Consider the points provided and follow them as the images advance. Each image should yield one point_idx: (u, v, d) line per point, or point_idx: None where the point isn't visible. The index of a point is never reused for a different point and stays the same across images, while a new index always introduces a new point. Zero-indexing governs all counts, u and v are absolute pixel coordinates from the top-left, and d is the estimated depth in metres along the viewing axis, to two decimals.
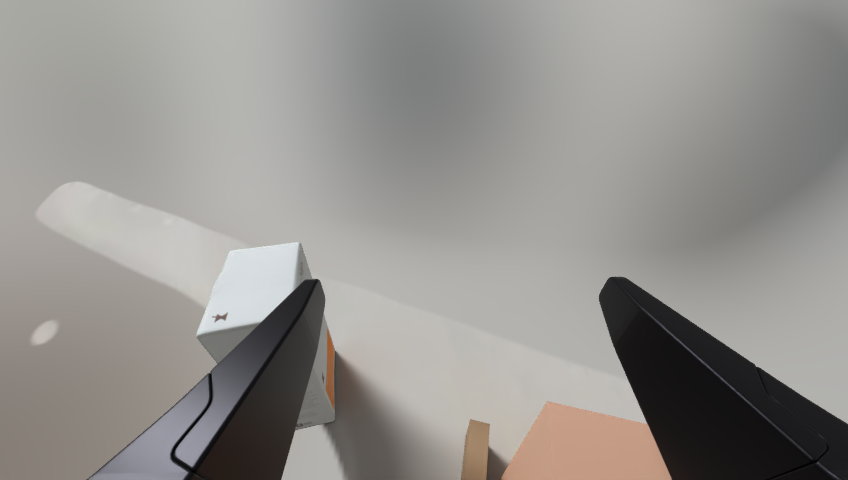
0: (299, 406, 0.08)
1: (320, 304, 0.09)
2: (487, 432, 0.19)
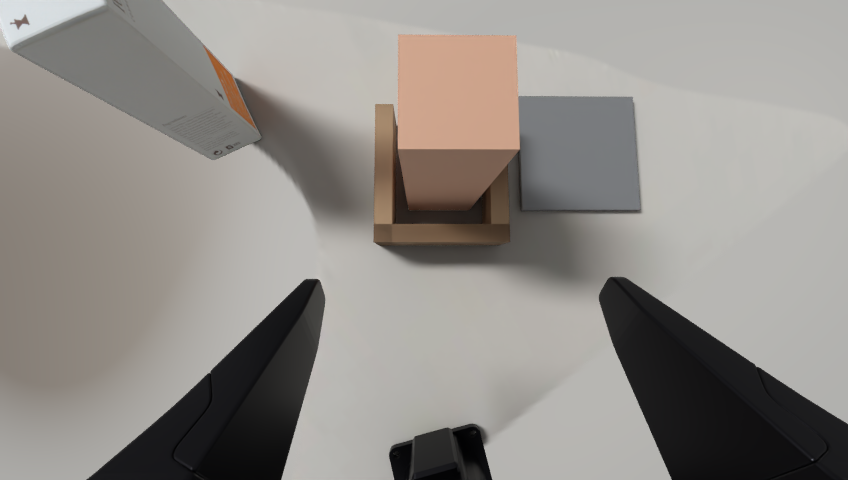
0: (299, 406, 0.08)
1: (320, 304, 0.09)
2: (391, 111, 0.21)
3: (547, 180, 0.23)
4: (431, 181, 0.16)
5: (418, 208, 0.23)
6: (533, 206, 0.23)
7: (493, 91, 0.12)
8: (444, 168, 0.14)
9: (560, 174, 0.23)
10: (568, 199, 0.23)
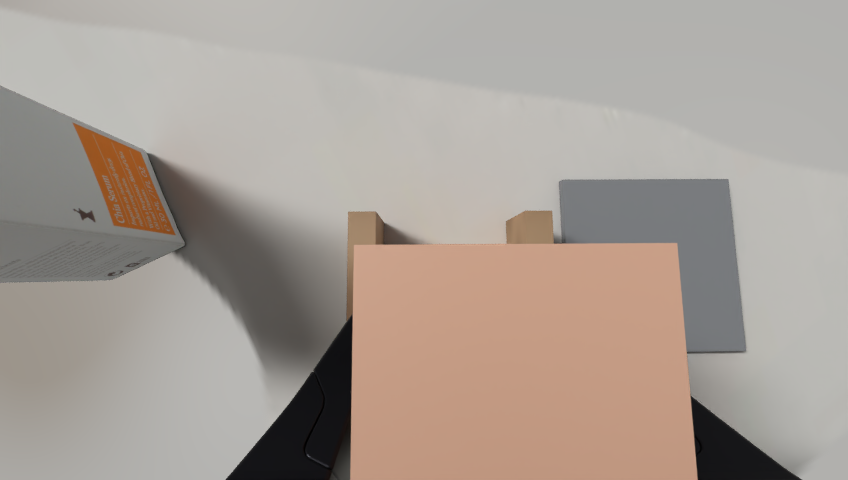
0: None
1: None
2: (373, 222, 0.13)
3: None
4: None
5: None
6: None
7: (621, 412, 0.04)
8: None
9: None
10: None
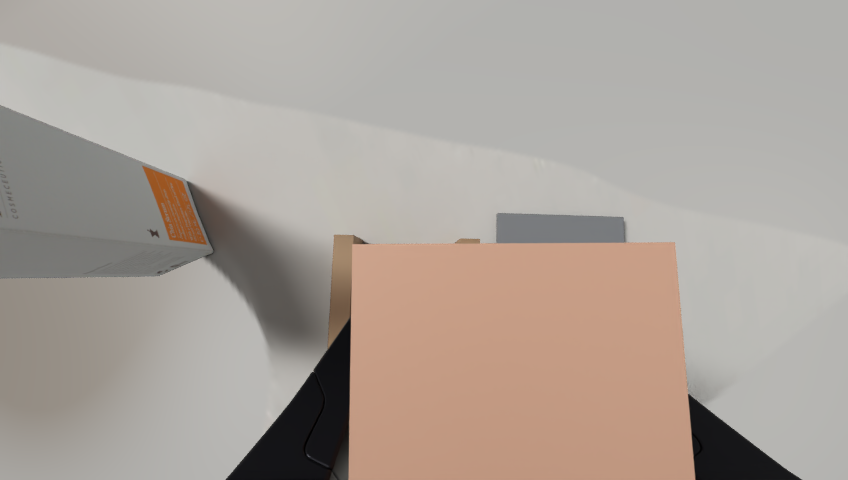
0: None
1: None
2: (351, 243, 0.19)
3: None
4: None
5: None
6: None
7: (618, 411, 0.04)
8: None
9: None
10: None
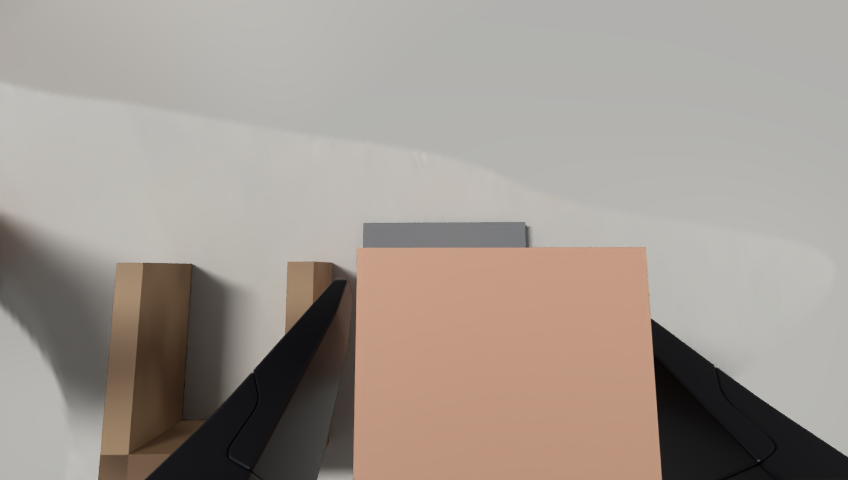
0: (332, 406, 0.08)
1: (349, 304, 0.09)
2: (140, 273, 0.14)
3: None
4: None
5: None
6: None
7: (593, 397, 0.05)
8: None
9: None
10: None
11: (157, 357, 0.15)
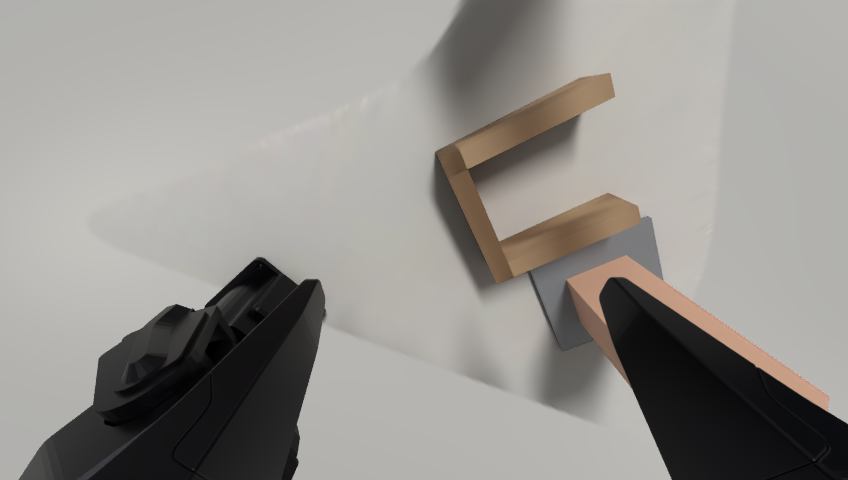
0: (299, 406, 0.08)
1: (320, 304, 0.09)
2: (605, 99, 0.16)
3: (565, 278, 0.23)
4: None
5: (572, 292, 0.23)
6: (536, 277, 0.23)
7: None
8: None
9: None
10: (553, 300, 0.24)
11: None
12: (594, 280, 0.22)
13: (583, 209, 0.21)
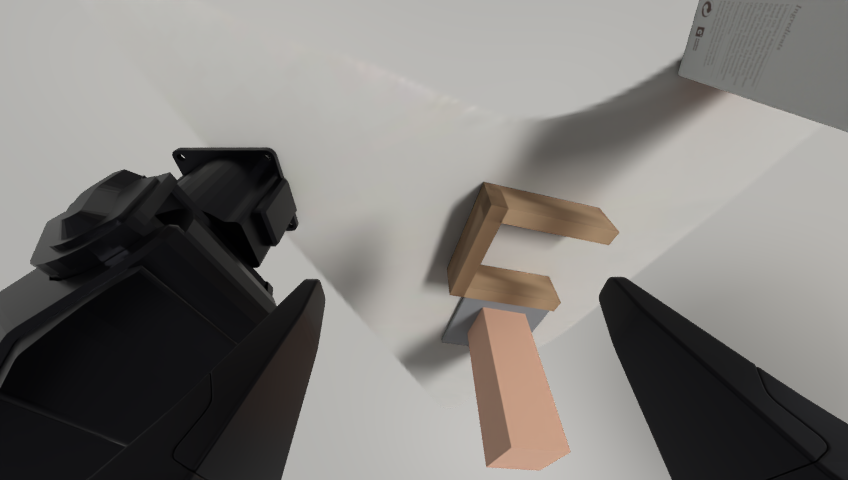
0: (299, 406, 0.08)
1: (320, 304, 0.09)
2: (603, 242, 0.22)
3: (483, 306, 0.30)
4: (491, 392, 0.25)
5: (481, 317, 0.30)
6: None
7: (518, 465, 0.24)
8: (494, 423, 0.24)
9: None
10: (464, 313, 0.31)
11: None
12: (499, 320, 0.30)
13: (530, 278, 0.27)
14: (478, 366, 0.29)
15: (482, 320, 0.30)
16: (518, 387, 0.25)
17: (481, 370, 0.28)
